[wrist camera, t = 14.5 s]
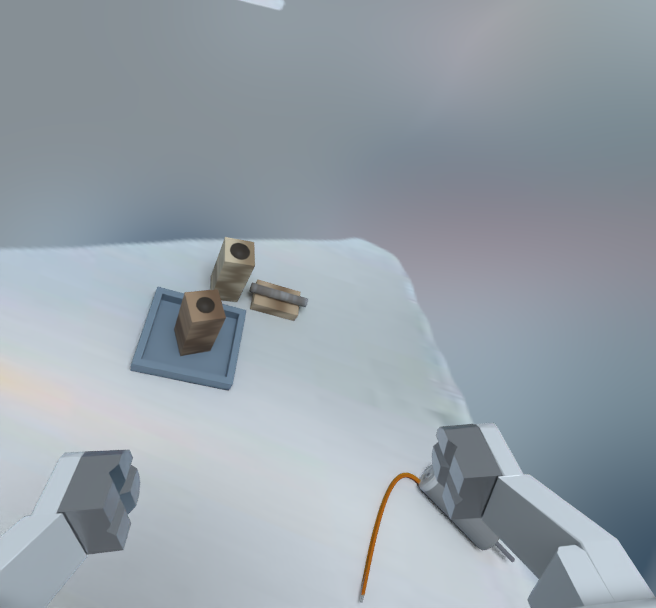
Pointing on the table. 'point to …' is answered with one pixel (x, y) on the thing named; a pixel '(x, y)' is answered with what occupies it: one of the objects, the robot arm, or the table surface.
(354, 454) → the table surface
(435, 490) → the motor
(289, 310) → the gauge rest
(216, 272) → the oak block
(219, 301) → the walnut block
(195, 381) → the tray
